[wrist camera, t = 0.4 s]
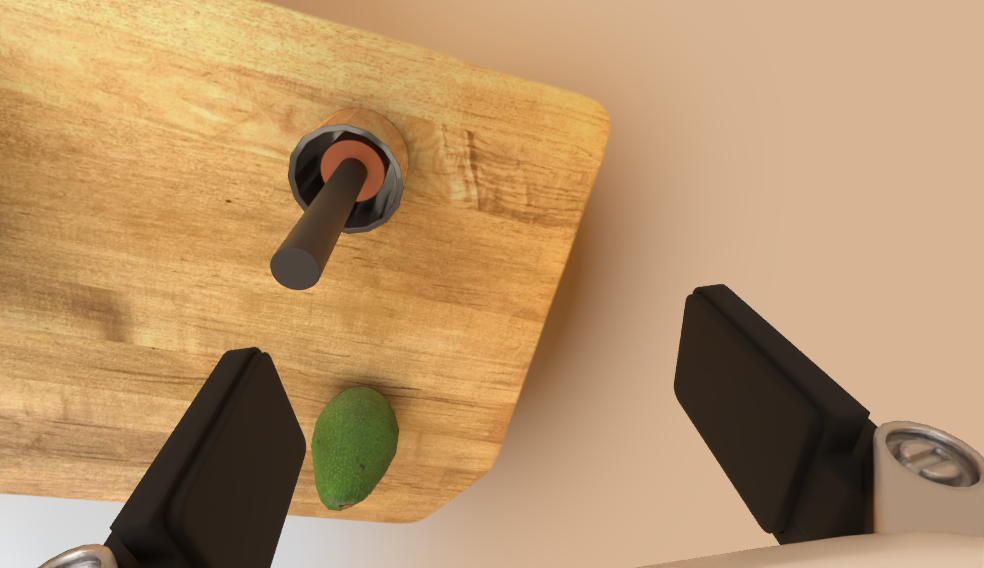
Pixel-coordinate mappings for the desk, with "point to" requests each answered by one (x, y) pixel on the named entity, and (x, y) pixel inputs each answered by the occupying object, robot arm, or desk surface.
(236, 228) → the desk surface
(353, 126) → the holder
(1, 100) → the desk surface
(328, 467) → the fruit
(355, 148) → the rod with orange collar
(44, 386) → the desk surface
